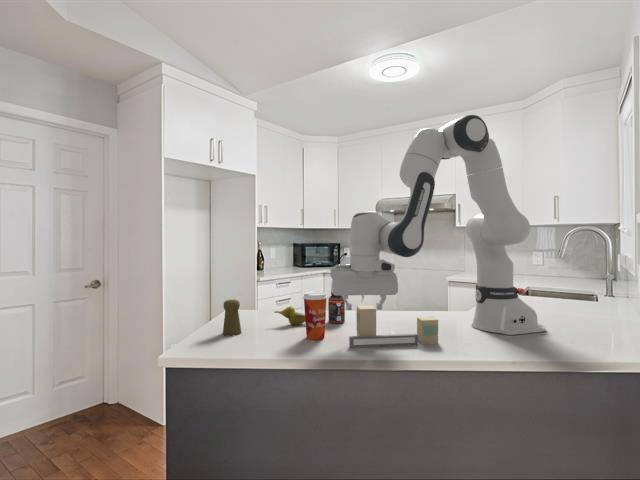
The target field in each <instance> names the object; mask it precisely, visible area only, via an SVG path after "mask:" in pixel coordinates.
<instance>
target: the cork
mask: <svg viewBox="0 0 640 480" xmlns="http://www.w3.org/2000/svg"><path fill="white" fill-rule="evenodd" d="M240 306H241V305H240V302H239V300H237V299H227V300H225V301H224V302H223V310H224V311H225V312H224V317H223V318H224V320H223V327H222V335H223V334H224V335H223V336H225V335H230V336H229V337H232V336H231V335H235V336H238V335H241V334H242V328H241V327H242V326H241V320H240V314H239V309H240Z"/></svg>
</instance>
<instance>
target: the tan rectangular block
mask: <svg viewBox="0 0 640 480" xmlns="http://www.w3.org/2000/svg"><path fill="white" fill-rule="evenodd" d="M370 335H377V308H376V307H375V306H374V305H372V304H370V305H356V336H370Z"/></svg>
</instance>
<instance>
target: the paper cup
mask: <svg viewBox="0 0 640 480" xmlns="http://www.w3.org/2000/svg"><path fill="white" fill-rule="evenodd" d="M302 299H303V304H304V305H303V306H304V307H303V308H304V314H305V322H304V323H305V333H306V339H308V340H311V341H320V340H324V339H325V334H326V315H327V314H326V312H327V299H328V296H327V293H326V292H324V291H318V290H317V291H307V292H304V294H303V296H302Z"/></svg>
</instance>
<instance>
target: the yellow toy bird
mask: <svg viewBox="0 0 640 480" xmlns="http://www.w3.org/2000/svg"><path fill="white" fill-rule="evenodd" d="M273 313H275V314H276V313H277V314H280V315H282V316H283V317H285V318H286V319H288V323H289V324H291V325H292V326H298V325H302V324H304V323H306V322H305V313H301V312H298V311H296V309H295V307H293V306H288V307H286V308H285V309H283V310H281V311H280V310H275V311H274V312H273Z"/></svg>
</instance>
